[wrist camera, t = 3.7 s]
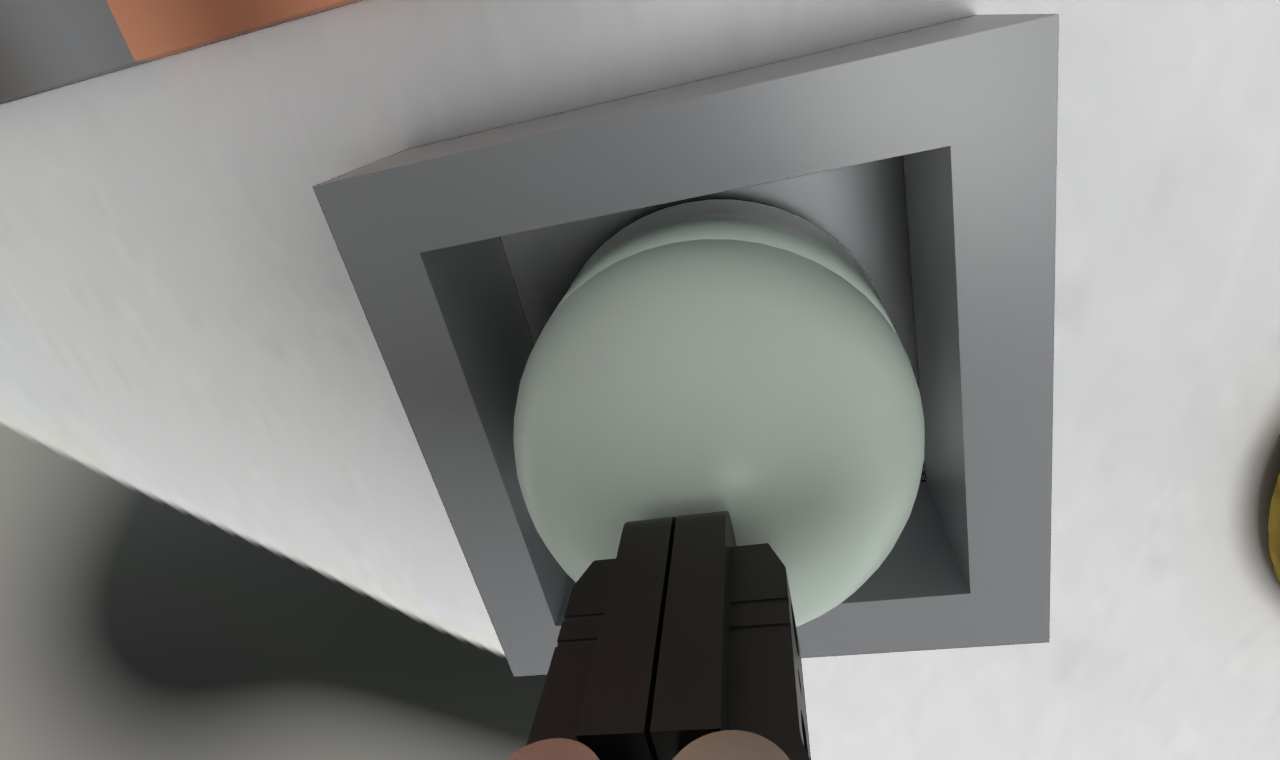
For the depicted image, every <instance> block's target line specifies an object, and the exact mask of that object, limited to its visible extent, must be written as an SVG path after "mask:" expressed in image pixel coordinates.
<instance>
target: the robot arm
mask: <svg viewBox="0 0 1280 760" xmlns="http://www.w3.org/2000/svg"><path fill="white" fill-rule="evenodd" d="M564 617H565V622H562V625H561V629H560V632H559V636H558V639H557V643H558V646H557V647H555V650H554V653H553V656H552V660H551V663H550V667H549V670H548V674H547V677H546V680H545V684H544V687H543V691H542V694H541V698H540V701H539V704H538V708H537V711H536V715H535V718H534V722H533V725H532V728H531V732H530V735H529V739H528V742H527V745H526V746H525V747H523V748H522V749H520V750H518V751H516V752H515V753H514V754H512V755H511V756H509V757H508V758H507V759H506V760H811V755H810V745H809V735H808V725H807V715H806V704H805V694H804V685H803V674H802V664H801V653H800V646H799V640H798V634H797V629H796V623H795V617H794V612H793V606H792V600H791V595H790V589H789V583H788V578H787V572H786V567H785V566H784V564H783V563H782V561H781V560H780V559H779V557H778V556H777V555H776V553H775V552H774V550H773V549H772V548H771V546H770V545H769V543H764V544H754V545H744V546H737V545H736V540H735V536H734V531H733V526H732V522H731V518H730V514H729V512H728V511H720V512H710V513H701V514H692V515H683V516H678V517H677V518H676V517H667V518H658V519H648V520H639V521H630V522H626V523H625V524H624V527H623V530H622V535H621V539H620V543H619V548H618V552H617V557H616V558H615V559H605V560H595V561H593V562H592V563H591V565H590V566H589V567H588V568H587V570H586V571H585V572H584V573H583V575H582V576H581V577H580V578H579V580H578V581H577V582H576V583H575V585H574V586H573V588H572V591H571V595H570V598H569V601H568V605H567V608H566V612H565V615H564Z"/></svg>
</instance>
